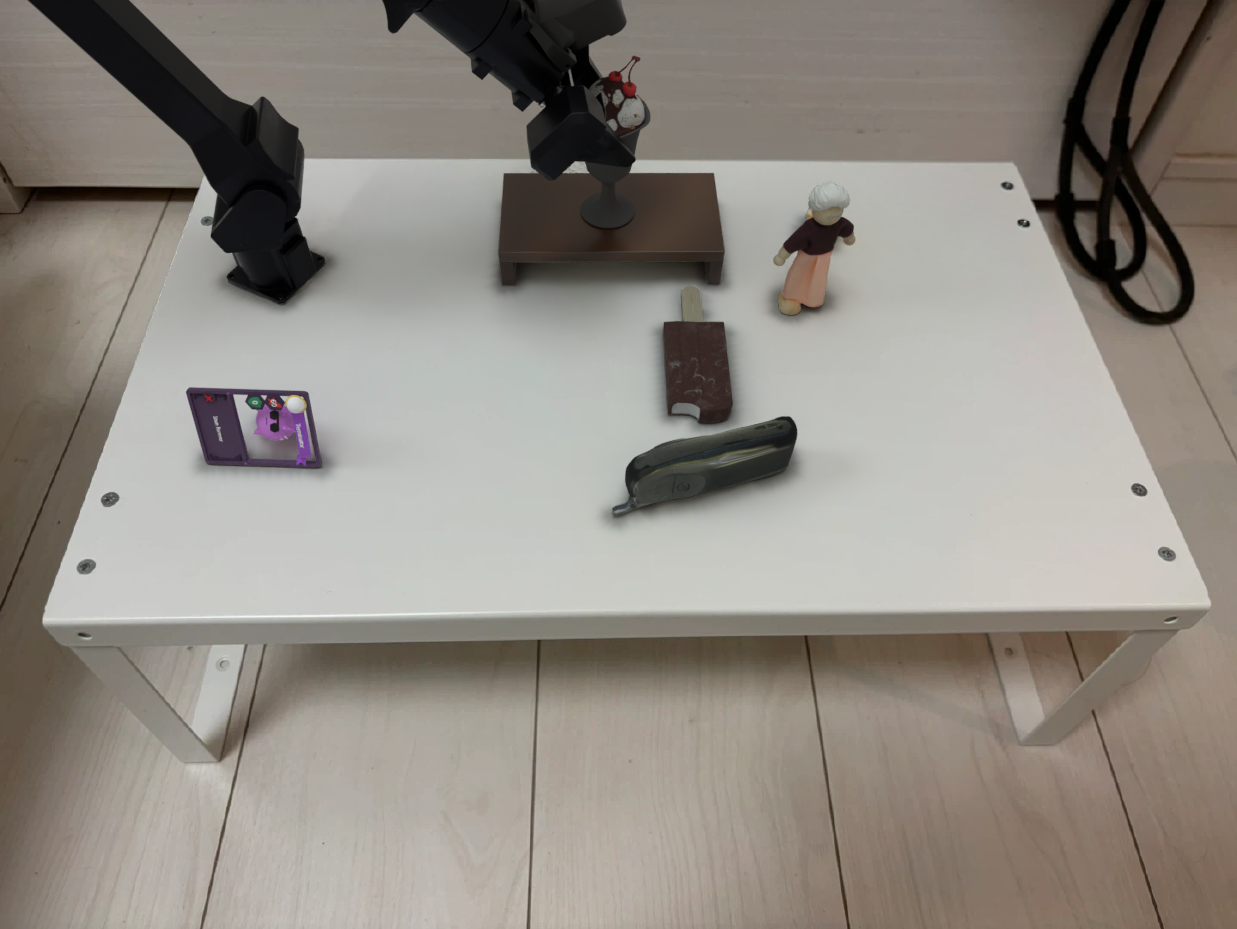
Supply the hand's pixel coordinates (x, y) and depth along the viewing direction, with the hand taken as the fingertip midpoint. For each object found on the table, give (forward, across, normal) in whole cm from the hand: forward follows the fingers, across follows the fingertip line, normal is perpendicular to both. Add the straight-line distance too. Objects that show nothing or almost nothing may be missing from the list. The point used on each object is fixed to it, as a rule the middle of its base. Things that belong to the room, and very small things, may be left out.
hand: (625, 138), depth 79 cm
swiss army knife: (+10, -28, +7) cm, 30 cm away
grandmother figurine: (+19, -9, -3) cm, 22 cm away
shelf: (+8, 0, +9) cm, 12 cm away
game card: (-13, -20, +31) cm, 39 cm away
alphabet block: (+22, -1, -5) cm, 22 cm away
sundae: (+4, 0, +6) cm, 8 cm away
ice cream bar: (+11, -15, +5) cm, 19 cm away
